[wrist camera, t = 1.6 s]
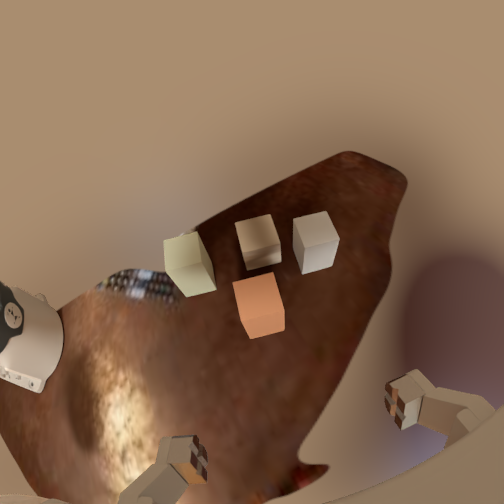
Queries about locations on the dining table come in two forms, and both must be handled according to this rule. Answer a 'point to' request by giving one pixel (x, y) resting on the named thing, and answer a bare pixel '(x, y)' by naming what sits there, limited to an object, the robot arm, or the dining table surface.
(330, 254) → the light grey block
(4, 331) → the robot arm
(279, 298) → the terracotta block
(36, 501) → the cup
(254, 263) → the off-white cube
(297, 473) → the dining table surface
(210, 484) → the dining table surface
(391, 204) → the dining table surface
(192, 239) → the sage block
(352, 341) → the dining table surface
